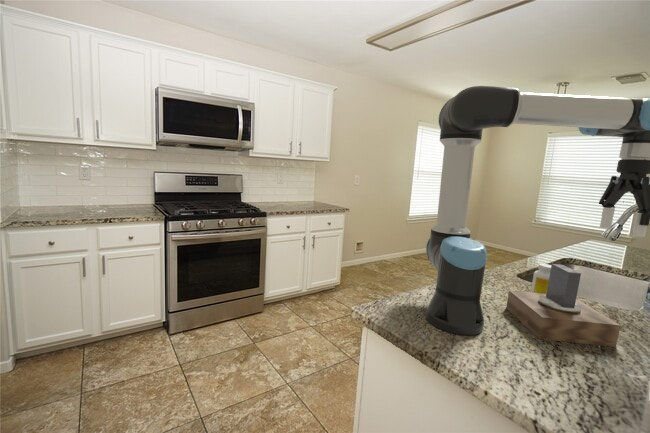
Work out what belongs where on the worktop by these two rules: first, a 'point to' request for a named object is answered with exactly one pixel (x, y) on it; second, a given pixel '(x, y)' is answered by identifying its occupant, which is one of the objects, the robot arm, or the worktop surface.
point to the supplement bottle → (541, 279)
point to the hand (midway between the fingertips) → (620, 232)
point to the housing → (562, 321)
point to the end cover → (562, 290)
